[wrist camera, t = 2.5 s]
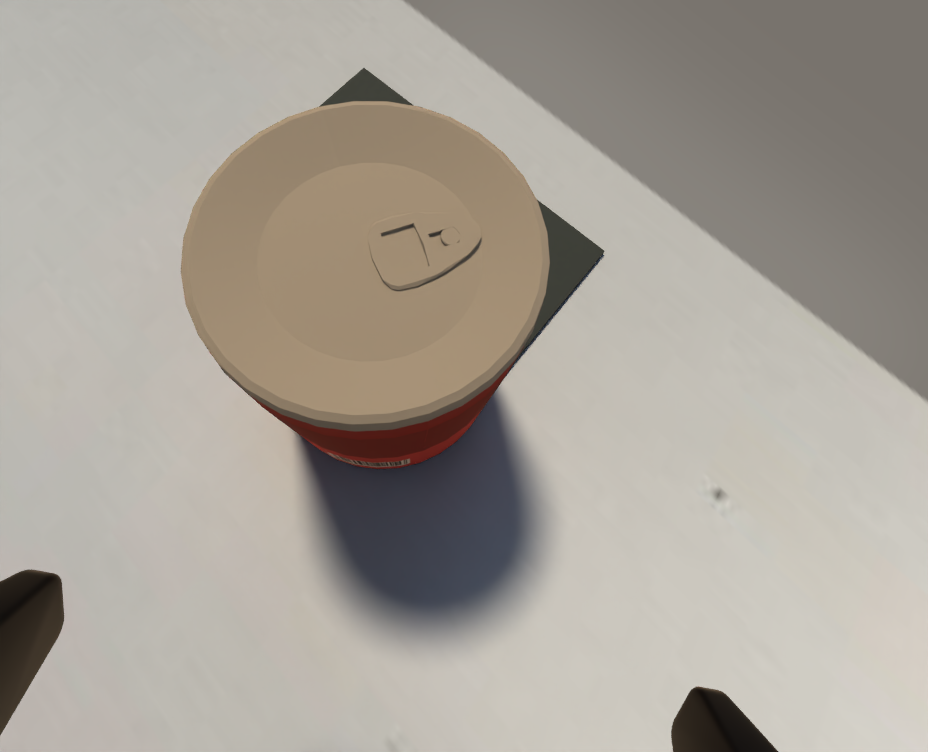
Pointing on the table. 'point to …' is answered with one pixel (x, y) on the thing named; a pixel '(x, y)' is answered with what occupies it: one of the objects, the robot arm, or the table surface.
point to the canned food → (367, 276)
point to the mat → (564, 241)
